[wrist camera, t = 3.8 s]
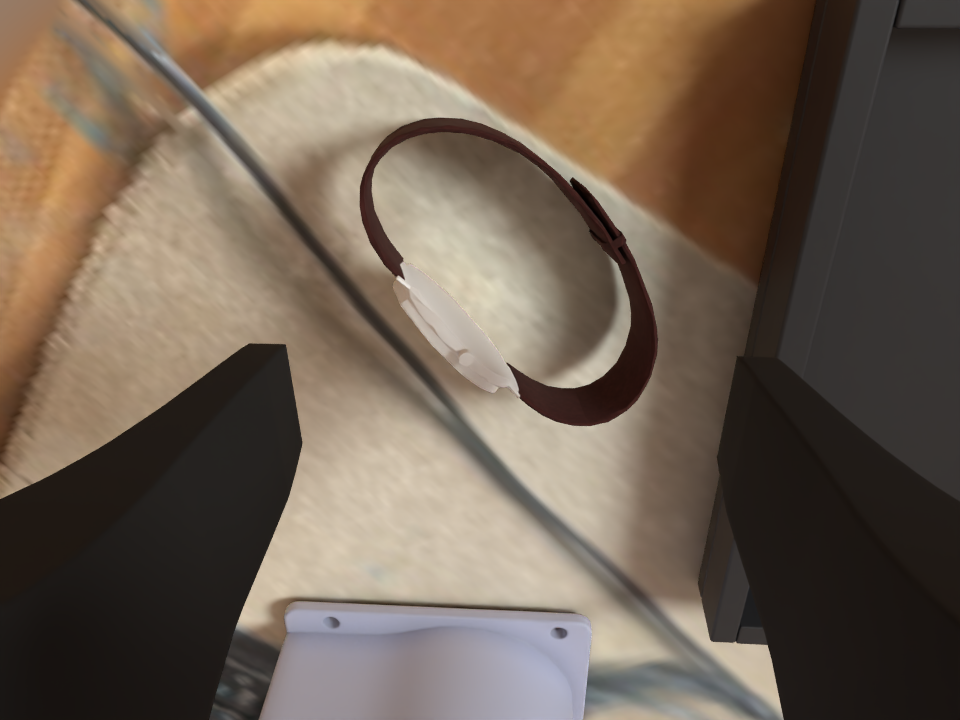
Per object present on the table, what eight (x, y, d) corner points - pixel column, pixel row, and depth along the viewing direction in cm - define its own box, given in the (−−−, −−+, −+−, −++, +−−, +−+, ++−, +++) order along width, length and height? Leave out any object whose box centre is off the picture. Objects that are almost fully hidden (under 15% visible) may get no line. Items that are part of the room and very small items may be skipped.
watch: (320, 187, 17) (274, 260, 14) (480, 38, 16) (465, 85, 13) (543, 407, 20) (543, 506, 17) (701, 304, 18) (732, 395, 15)
